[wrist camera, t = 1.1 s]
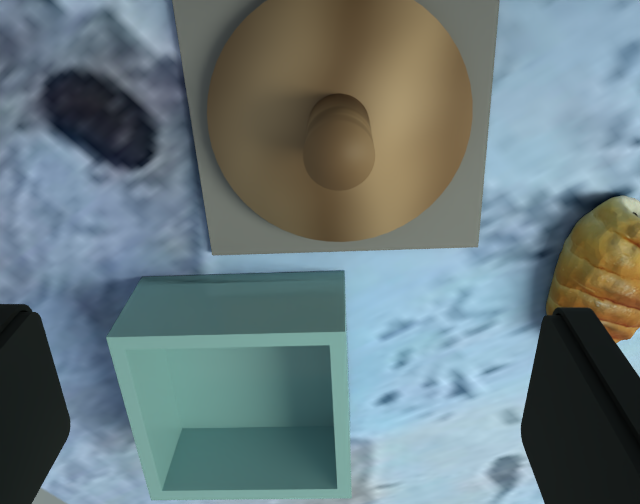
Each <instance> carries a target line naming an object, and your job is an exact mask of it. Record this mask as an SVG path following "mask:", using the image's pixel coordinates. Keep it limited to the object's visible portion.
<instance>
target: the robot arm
mask: <svg viewBox="0 0 640 504" xmlns="http://www.w3.org/2000/svg"><path fill="white" fill-rule="evenodd" d="M69 432H70V417H69V413H68V410H67V407H66V403H65V400H64V396H63V393H62V389H61V386H60V382H59V379H58V375H57V372H56V368H55V365H54V361H53V358H52V355H51V351H50V348H49V344H48V341H47V337H46V334H45V330H44V327H43V323H42V320H41V317H40V315H39V314H38V313H36V312H32V310H31V308H30V307H29V306H27V305H25V304H0V504H32V502H33V500H34V498H35V496H36V495H37V493H38V491H39V489H40V487H41V485H42V484H43V482H44V480H45V478H46V476H47V475H48V473H49V471H50V469H51V467H52V465H53V464H54V462H55V460H56V458H57V456H58V455H59V453H60V451H61V449H62V447H63V445H64V444H65V442H66V440H67V438H68V435H69ZM521 437H522V442H523V446H524V448H525V451H526V454H527V457H528V459H529V462H530V465H531V467H532V470H533V473H534V476H535V478H536V481H537V484H538V486H539V489H540V492H541V495H542V497H543V500H544V503H545V504H640V377H639V376H638V374H637V373H636V372H635V370H634V369H633V367H632V366H631V364H630V363H629V361H628V360H627V359H626V357H625V356H624V354H623V353H622V351H621V350H620V349H619V347H618V346H617V344H616V343H615V341H614V340H613V338H612V337H611V336H610V334H609V333H608V331H607V330H606V328H605V327H604V326H603V324H602V323H601V321H600V320H599V318H598V317H597V315H596V314H595V313H594V311H593V310H592V309H591V308H588V307H557V308H556V309H555V310H554V311H553V314H552V315H546V316H544V318H543V320H542V324H541V329H540V334H539V339H538V344H537V349H536V354H535V359H534V364H533V369H532V374H531V378H530V383H529V388H528V393H527V398H526V403H525V408H524V413H523V418H522V423H521Z"/></svg>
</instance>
